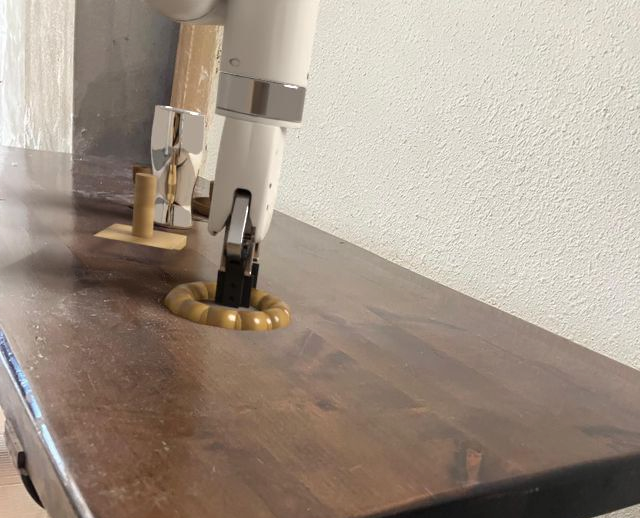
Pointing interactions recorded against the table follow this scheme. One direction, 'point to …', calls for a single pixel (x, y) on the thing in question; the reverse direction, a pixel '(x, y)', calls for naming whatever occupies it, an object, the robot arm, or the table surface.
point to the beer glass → (176, 163)
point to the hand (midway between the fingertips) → (234, 305)
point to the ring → (187, 306)
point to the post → (144, 220)
